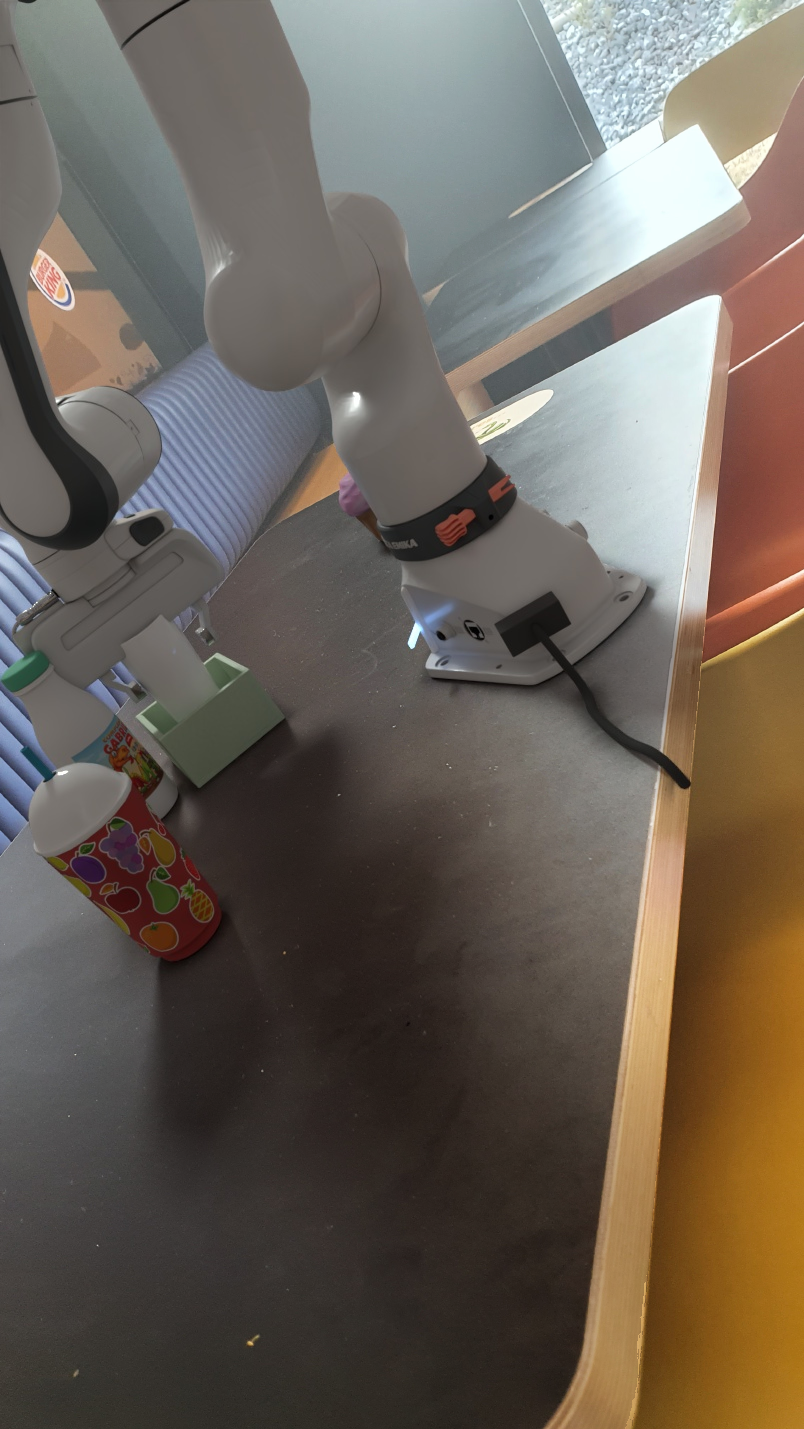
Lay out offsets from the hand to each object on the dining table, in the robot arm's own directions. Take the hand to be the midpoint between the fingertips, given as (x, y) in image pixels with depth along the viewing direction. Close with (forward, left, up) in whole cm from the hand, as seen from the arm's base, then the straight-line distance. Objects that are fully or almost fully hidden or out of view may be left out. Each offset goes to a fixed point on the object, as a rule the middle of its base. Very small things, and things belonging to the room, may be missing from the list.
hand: (177, 669), depth 100 cm
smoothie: (-28, +14, -10) cm, 33 cm away
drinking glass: (0, +1, -9) cm, 9 cm away
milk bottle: (-2, +11, -10) cm, 15 cm away
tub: (0, 0, -10) cm, 10 cm away
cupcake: (+21, -37, -10) cm, 43 cm away
